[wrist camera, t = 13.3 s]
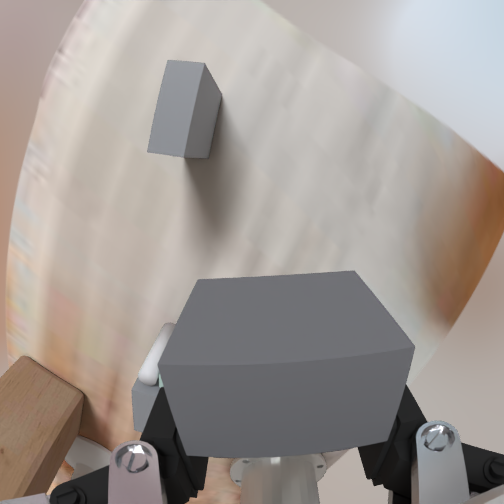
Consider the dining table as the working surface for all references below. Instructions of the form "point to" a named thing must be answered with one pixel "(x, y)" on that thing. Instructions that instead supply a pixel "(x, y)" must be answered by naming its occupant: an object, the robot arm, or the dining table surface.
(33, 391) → the wooden block
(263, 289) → the dark grey stepped block
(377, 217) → the dining table surface
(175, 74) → the door frame
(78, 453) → the candlestick
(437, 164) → the dining table surface
